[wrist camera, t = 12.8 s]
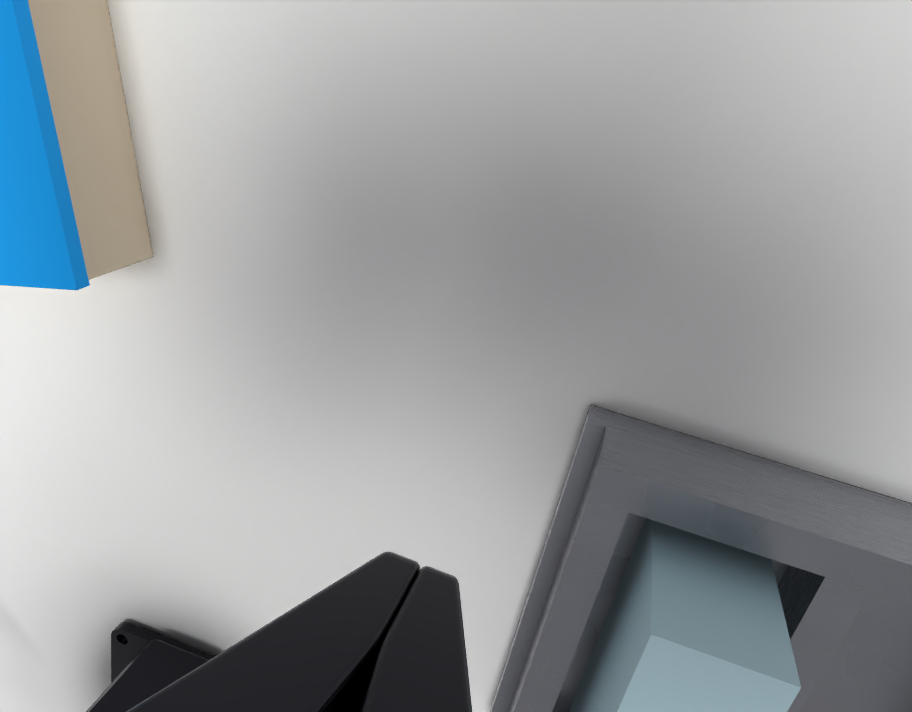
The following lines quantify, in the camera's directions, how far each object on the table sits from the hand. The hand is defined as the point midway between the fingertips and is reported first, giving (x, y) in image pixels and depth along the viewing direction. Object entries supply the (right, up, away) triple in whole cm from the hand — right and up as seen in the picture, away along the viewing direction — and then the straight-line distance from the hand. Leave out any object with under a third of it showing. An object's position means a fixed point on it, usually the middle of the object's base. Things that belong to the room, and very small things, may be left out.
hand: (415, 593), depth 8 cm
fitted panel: (+6, -6, +13) cm, 15 cm away
